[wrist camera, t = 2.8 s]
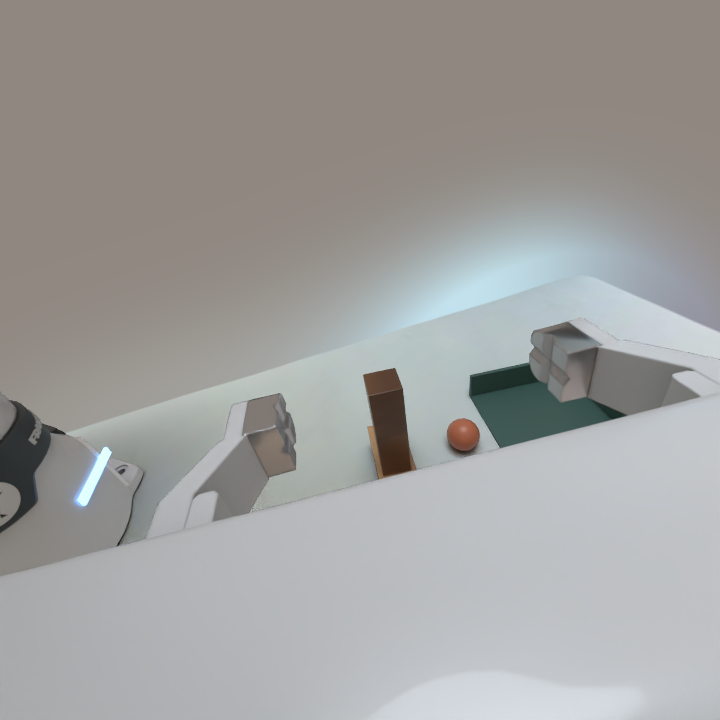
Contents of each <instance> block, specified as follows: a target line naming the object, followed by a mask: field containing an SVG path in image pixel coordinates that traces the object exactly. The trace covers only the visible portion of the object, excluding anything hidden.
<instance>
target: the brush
mask: <svg viewBox="0 0 720 720" xmlns="http://www.w3.org/2000/svg"><path fill="white" fill-rule="evenodd" d="M363 377H364V382H365V387H366V393H367V398H368V403H369V408H370V414H371V419H372V424H373V426H369V427H368V432H369V437H370V442H371V447H372V451H373V456H374V461H375V465H376V470H377V474H378V479H383V478H387V477H390V476H394V475H398V474H402V473H406V472H410V471H414V470H416V467H415V463H414V460H413V457H412V454H411V451H410V448H409V442H408V433H407V423H406V414H405V405H404V395H403V388H402V385H401V383H400V380H399V377H398V374H397V372H396V369H395V368H393V369H388V370H383V371H378V372H374V373H369V374H364V375H363Z"/></svg>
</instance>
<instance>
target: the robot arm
mask: <svg viewBox="0 0 720 720" xmlns="http://www.w3.org/2000/svg"><path fill="white" fill-rule="evenodd" d="M531 343H532V344H533V346H534V349H533V350H532V351H531V353H530V356H529V364H530V367H531V371H532V373H533V374H534V376H535V377H536V378H537V379H538V380H539V381H540V382H543V383H546V384H548V390H549V391H550V392H551V393H552V394H553V395H554V396H555V397H556V398H557V399H558V400H559V401H560V402H566V401H570V400H575V399H579V398H583V397H588V398H589V399H592V400H594V401H596V402H599V403H601V404H603V405H605V406H608V407H610V408H612V409H614V410H617V411H619V412H621V413H624V414H626V415H628V416H625V417H621V418H617V419H613V420H609V421H605V422H601V423H597V424H593V425H590V426H586V427H582V428H578V429H574V430H570V431H566V432H562V433H558V434H554V435H550V436H546V437H542V438H539V439H535V440H531V441H527V442H523V443H519V444H515V445H511V446H507V447H503V448H499V449H495V450H492V451H488V452H484V453H480V454H476V455H472V456H468V457H464V458H461V459H457V460H453V461H449V462H445V463H441V464H437V465H433V466H430V467H426V468H422V469H418V470H414V471H410V472H406V473H402V474H398V475H394V476H390V477H387V478H383V479H379V480H375V481H371V482H367V483H363V484H359V485H355V486H351V487H347V488H343V489H340V490H336V491H332V492H328V493H324V494H320V495H316V496H312V497H308V498H304V499H300V500H297V501H293V502H289V503H285V504H281V505H277V506H273V507H269V508H265V509H261V510H257V511H253V512H250V513H249V511H250V510H251V508H252V506H253V505H254V503H255V501H256V500H257V498H258V496H259V495H260V493H261V491H262V490H263V488H264V486H265V485H266V483H267V481H268V480H269V477H272V476H276V475H279V474H283V473H286V472H290V471H294V470H296V452H295V449H294V447H293V446H294V444H295V443H296V433H295V427H294V423H293V420H292V417H291V415H290V413H288V412H286V402H285V400H284V398H283V395H282V394H281V393H279V394H275V395H270V396H266V397H261V398H257V399H253V400H249V401H244V402H240V403H236V404H233V405H232V406H231V409H230V413H229V418H228V422H227V426H226V430H225V434H224V438H223V441H220V442H218V443H217V444H216V445H215V446H214V447H213V448H212V449H211V450H210V451H209V452H208V453H207V454H206V455H205V456H204V457H203V458H202V459H201V460H200V461H199V462H198V463H197V464H196V465H195V466H194V467H193V468H192V469H191V470H190V471H189V472H188V473H187V474H186V475H185V476H184V477H183V478H182V479H181V480H180V481H179V482H178V483H177V484H176V486H175V487H174V488H173V489H172V490H171V491H170V492H169V493H168V494H167V495H166V496H165V497H164V498H163V499H162V500H161V501H160V502H159V503H158V505H157V508H156V510H155V513H154V516H153V518H152V521H151V524H150V526H149V529H148V532H147V534H146V537H145V539H144V540H140V541H136V542H132V543H128V544H124V545H120V546H117V544H118V542H119V541H120V539H121V537H122V535H123V533H124V531H125V529H126V526H127V524H128V521H129V518H130V514H131V506H132V498H133V494H134V492H135V490H136V489H137V487H138V485H139V483H140V481H141V479H142V476H143V471H142V470H141V469H140V468H139V467H138V466H136V465H134V464H130V463H127V462H123V461H120V460H117V459H113V458H110V457H109V456H110V454H111V451H110V450H109V449H108V448H107V447H105V448H103V450H102V452H101V454H99V453H98V452H97V451H96V450H95V449H94V448H93V447H92V446H91V445H90V444H89V443H87V442H86V441H85V440H84V439H83V438H81V437H77V438H74V437H72V436H69V435H66V434H65V433H64V432H62V431H60V430H58V429H57V428H54V427H51V426H48V425H45V424H42V423H41V421H40V419H39V418H38V417H37V416H36V415H35V414H34V413H32V412H31V411H30V410H27V409H26V408H25V407H24V406H23V405H22V404H20V403H18V402H16V401H10V400H8V399H7V398H6V397H5V396H4V395H3V394H2V393H1V392H0V720H720V359H718V358H713V357H708V356H703V355H698V354H693V353H688V352H683V351H678V350H673V349H668V348H663V347H658V346H653V345H648V344H643V343H638V342H633V341H628V340H623V341H620V340H618V339H616V338H615V337H613V336H612V335H610V334H608V333H607V332H605V331H604V330H602V329H600V328H599V327H597V326H596V325H594V324H593V323H591V322H589V321H588V320H586V319H583V318H578V319H574V320H571V321H567V322H564V323H561V324H557V325H554V326H550V327H546V328H542V329H538V330H534V331H533V333H532V335H531Z"/></svg>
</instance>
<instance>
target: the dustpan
mask: <svg viewBox="0 0 720 720" xmlns="http://www.w3.org/2000/svg"><path fill="white" fill-rule="evenodd" d="M469 396H470V397H471V399H472V401H473V402H474V404H475V406H476V407H477V409H478V411H479V412H480V414H481V416H482V418H483V419H484V421H485V423H486V424H487V426H488V428H489V429H490V431H491V433H492V434H493V436H494V438H495V440H496V441H497V443H498V445H499V446H500V448H503V447H507V446H511V445H515V444H519V443H523V442H527V441H531V440H535V439H539V438H542V437H546V436H550V435H554V434H558V433H562V432H566V431H570V430H574V429H578V428H582V427H586V426H590V425H593V424H597V423H601V422H605V421H609V420H613V419H617V418H621V417H625V416H628V415H626V414H624V413H621V412H619V411H617V410H614V409H612V408H610V407H608V406H605V405H603V404H601V403H599V402H596V401H594V400H592V399H589V398H588V397H583V398H579V399H575V400H570V401H566V402H560V401H559V400H558V399H557V398H556V397H555V396H554V395H553V394H552V393H551V392H550V391H549V390H548V384H546V383H543V382H540V381H539V380H538V379H537V378H536V377H535V376H534V374H533V373H532V371H531V367H530V364H529V363H525V364H520V365H516V366H511V367H506V368H501V369H497V370H492V371H487V372H483V373H478V374H473V375H470V391H469Z"/></svg>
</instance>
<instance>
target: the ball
mask: <svg viewBox="0 0 720 720" xmlns="http://www.w3.org/2000/svg"><path fill="white" fill-rule="evenodd" d="M447 438H448V441H449V443H450V444H451V445H452V446H453V447H454V448H456V449H458V450H461V451H467V450H470V449H473V448H474V447H475V446H476V445H477V444H478V442H479V438H480V433H479V430H478V427H477V426H476V425H475V424H474V423H473V422H472V421H470V420H468V419H457V420H455V421H453V422H452V423H451V424H450V425H449V427H448V430H447Z"/></svg>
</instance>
